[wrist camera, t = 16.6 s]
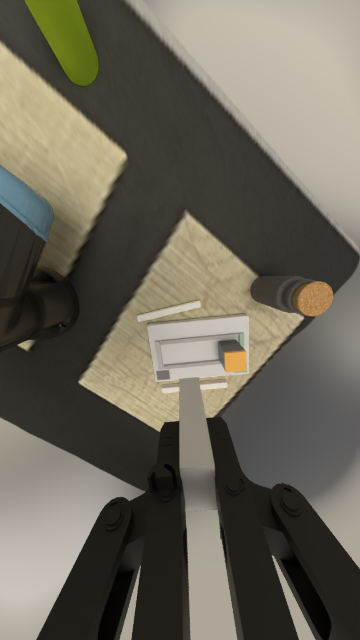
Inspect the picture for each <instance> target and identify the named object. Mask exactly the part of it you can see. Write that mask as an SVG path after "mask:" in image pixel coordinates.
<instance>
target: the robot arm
mask: <svg viewBox="0 0 360 640" xmlns="http://www.w3.org/2000/svg"><path fill="white" fill-rule="evenodd" d="M53 217H54V214H53V210H52V207H51V206H50V204H49V203H48V201H47V200H46V199H45V198H44V197H42V196H41V195H40V194H39V193H37V192H36V191H35V190H33V189H32V188H31V187H29V186H28V185H27V184H25V183H24V182H23V181H21V180H20V179H19V178H17V177H16V176H15V175H13V174H12V173H10V172H9V171H8V170H6V169H5V168H4V167H2V166H1V165H0V352H2V351H4V350H6V349H8V348H11V347H13V346H15V345H17V344H20V343H22V342H24V341H26V340H34V339H47V338H52V337H56V336H58V335H60V334H62V333H64V332H66V331H67V330H69V329H70V328H71V327H72V326H73V325H74V323H75V322H76V320H77V317H78V313H79V303H78V298H77V295H76V293H75V291H74V289H73V287H72V286H71V285H70V283H69V282H68V281H67V280H66V279H65V278H64V277H63V276H61V275H60V274H58V273H57V272H55V271H53V270H50V269H47V268H43V267H37V264H38V262H39V259H40V257H41V254H42V252H43V249H44V247H45V244H46V243H48V234H49V231H50V228H51V224H52V221H53ZM147 479H148V483H149V489H148V490H147V491H146V492H145V493H144V494H142V495H141V496H139V497H137V498H135V499H133V500H130V501H128V500H127V499H126V498H124V497H117V498H115V499H113V500H111V501H110V502H109V503H107V504H106V505H105V506H104V508H103V509H102V511H101V512H100V515H99V516H98V518H97V520H96V522H95V524H94V526H93V528H92V530H91V532H90V534H89V536H88V538H87V540H86V542H85V544H84V546H83V548H82V550H81V552H80V554H79V556H78V558H77V560H76V562H75V564H74V566H73V568H72V570H71V572H70V574H69V576H68V578H67V580H66V582H65V584H64V586H63V588H62V590H61V592H60V594H59V596H58V598H57V600H56V602H55V604H54V606H53V608H52V610H51V612H50V614H49V616H48V618H47V620H46V622H45V624H44V626H43V628H42V630H41V632H40V633H39V636H38V637H37V639H36V640H119V639H120V635H121V632H122V628H123V625H124V621H125V617H126V614H127V610H128V607H129V603H130V600H131V596H132V592H133V589H134V585H135V582H136V578H137V574H138V571H139V567H140V566H141V570H140V577H139V585H138V593H137V600H136V608H135V616H134V624H133V632H132V639H131V640H190V616H189V586H188V585H189V583H188V552H187V528H186V515H185V512H191V511H203V510H217V509H218V514H219V522H220V537H221V539H222V544H223V550H224V557H225V563H226V569H227V576H228V582H229V589H230V595H231V601H232V608H233V614H234V620H235V626H236V633H237V639H238V640H299V638H298V636H297V632H296V629H295V626H294V623H293V620H292V617H291V614H290V611H289V608H288V605H287V601H286V599H285V595H284V592H283V589H282V586H281V583H280V580H279V577H278V574H277V571H276V568H275V565H274V562H273V558H272V555H273V556H274V557H275V559H276V561H277V563H278V565H279V567H280V569H281V571H282V573H283V575H284V577H285V579H286V581H287V583H288V585H289V587H290V589H291V591H292V593H293V595H294V597H295V599H296V601H297V603H298V605H299V607H300V609H301V611H302V613H303V615H304V617H305V619H306V621H307V623H308V625H309V627H310V629H311V631H312V633H313V635H314V637H315V639H316V640H360V569H359V567H358V566H357V565H356V564H355V562H354V561H353V560H352V558H351V557H350V556H349V554H348V553H347V552H346V551H345V549H344V548H343V547H342V545H341V544H340V543H339V541H338V540H337V539H336V538H335V536H334V535H333V534H332V532H331V531H330V530H329V528H328V527H327V526H326V525H325V523H324V522H323V521H322V519H321V518H320V517H319V515H318V514H317V513H316V512H315V510H314V509H313V508H312V506H311V505H310V504H309V503H308V501H307V500H306V499H305V497H304V496H303V495H302V494H301V493H300V492H299V491H298V490H297V489H295V488H294V487H292V486H290V485H287V484H284V483H282V484H276V485H275V486H274V487H273V488H272V489H269V488H266V487H262V486H259V485H257V484H254V483H253V482H251V481H250V480H249V479H248V478H247V477H246V476H245V475H244V474H243V472H242V470H241V468H240V465H239V462H238V459H237V455H236V452H235V450H234V446H233V443H232V440H231V437H230V433H229V430H228V427H227V424H226V422H225V421H224V420H223V419H222V418H221V417H214V418H206V416H205V411H204V405H203V400H202V394H201V389H200V384H199V378H198V377H193V378H182V379H179V421H175V422H165V423H164V425H163V427H162V428H161V431H160V440H159V448H158V457H157V464H156V465H155V466H153V468H152V469H151V471H150V472H149V475H148V478H147Z"/></svg>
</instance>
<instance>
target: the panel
mask: <svg viewBox="0 0 360 640" xmlns="http://www.w3.org/2000/svg"><path fill="white" fill-rule="evenodd" d="M147 330H148V336H149V342H150V349H151V355H152V361H153V368H154V374H155V380H156V382H162V381H173V380H179V379H182V378H193V377H198V378H205V377H216V376H227V375H238V374H248V373H249V315H247V314H236V315H226V316H216V317H206V318H196V319H186V320H176V321H166V322H156V323H148V325H147ZM227 340H237V341H238V342H239V344H240V345H241V346H242V347H243V348H244V349H245V351H246V371H237V372H225V370H224V368H223V366H222V364H221V362H220V360H219V353H218V341H227Z"/></svg>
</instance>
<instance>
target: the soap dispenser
mask: <svg viewBox="0 0 360 640" xmlns="http://www.w3.org/2000/svg"><path fill="white" fill-rule="evenodd" d="M24 1H25V3H26V4H27V6H28V8H29V10H30V11H31V13H32V15H33V17H34V18H35V20H36V22H37V24H38V25H39V27H40V29H41V31H42V32H43V34H44V36H45V38H46V40H47V41H48V43H49V45H50V47H51V48H52V50H53V52H54V54H55V55H56V57H57V59H58V61H59V62H60V64H61V66H62V68H63V69H64V71H65V73H66V75H67V76H68V78H69V79H70V80H71V81H72V82H73V83H75V84H77V85H79V86H87V85H89V84H91V83H92V82H93V81H94V80H95V78H96V76H97V74H98V69H99V62H98V57H97V53H96V51H95V48H94V45H93V43H92V40H91V37H90V35H89V32H88V29H87V27H86V24H85V21H84V19H83V16H82V13H81V11H80V8H79V5H78V3H77V0H24Z"/></svg>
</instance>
